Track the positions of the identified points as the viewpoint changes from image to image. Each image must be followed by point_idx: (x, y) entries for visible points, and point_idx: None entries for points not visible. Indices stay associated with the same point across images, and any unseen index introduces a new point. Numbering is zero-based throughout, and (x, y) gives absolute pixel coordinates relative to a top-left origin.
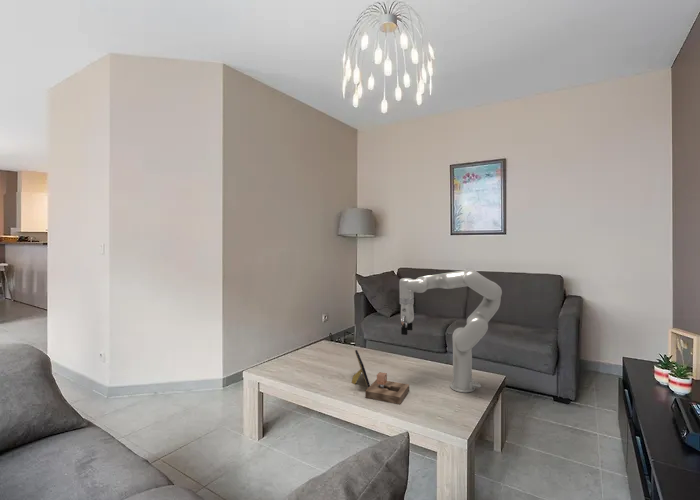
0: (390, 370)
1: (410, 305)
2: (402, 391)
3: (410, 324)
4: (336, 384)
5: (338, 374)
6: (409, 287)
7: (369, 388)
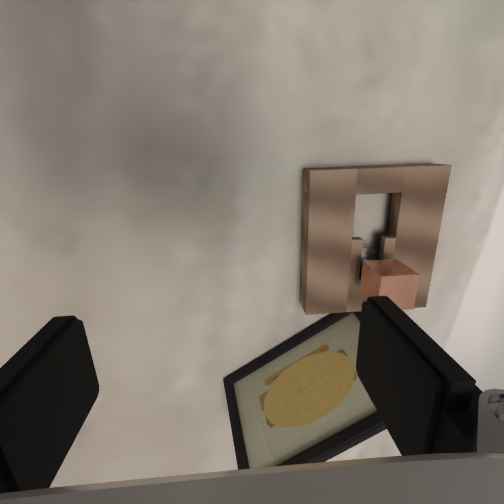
0: (130, 314)
1: None
2: (392, 174)
3: (19, 424)
4: None
5: None
6: None
7: None
